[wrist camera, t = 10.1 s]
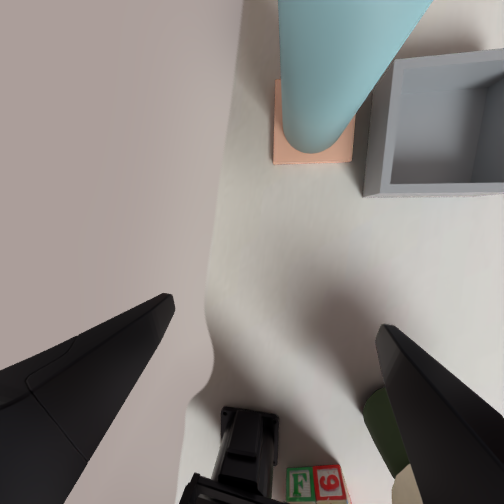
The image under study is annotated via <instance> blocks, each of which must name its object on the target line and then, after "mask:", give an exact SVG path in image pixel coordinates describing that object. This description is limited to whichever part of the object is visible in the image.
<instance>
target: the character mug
mask: <svg viewBox="0 0 504 504" xmlns="http://www.w3.org/2000/svg"><path fill="white" fill-rule="evenodd" d="M363 417H364V422H365V424H366V426H367V428H368V430H369V433H370V435H371V437H372V439H373V441H374V443H375V445H376V447H377V449H378V450H379V452H380V454H381V456H382V458H383V460H384V462H385V464H386V465H387V467H388V469H389V471H390V473H391V475H392V476H393V478H394V479H395V481H394V484H393V487H392V504H423V502H422V499H421V496H420V493H419V490H418V486H417V483H416V480H415V477H414V474H413V471H412V468H411V465H410V462H409V459H408V456H407V453H406V450H405V447H404V444H403V440H402V437H401V434H400V431H399V428H398V425H397V422H396V419H395V416H394V413H393V410H392V407H391V404H390V401H389V398H388V394H387V391H386V388H385V387H384V388H382V389H379V390H377V391H376V392H375V393H374V394H373V395H372V396H371V397H370V398H369V399H368V400H367V401H366V404H365V407H364V410H363Z"/></svg>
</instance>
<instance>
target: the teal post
mask: <svg viewBox="0 0 504 504" xmlns="http://www.w3.org/2000/svg"><path fill="white" fill-rule="evenodd" d="M432 1H433V0H278V11H279V39H280V66H281V94H282V122H283V132H284V135H285V137H286V139H287V141H288V143H289V144H290V145H291V146H292V147H293V148H295V149H296V150H298V151H300V152H303V153H309V154H312V153H318V152H322V151H324V150H326V149H328V148H329V147H331V146H332V145H333V144H334V143H335V142H336V141H337V140H338V138H339V137H340V136H341V134H342V133H343V131H344V130H345V128H346V127H347V125H348V124H349V122H350V121H351V120H352V118H353V117H354V115H355V114H356V112H357V111H358V109H359V108H360V106H361V105H362V103H363V102H364V101H365V99H366V98H367V96H368V95H369V93H370V92H371V90H372V89H373V87H374V86H375V85H376V83H377V82H378V80H379V79H380V77H381V76H382V74H383V73H384V71H385V70H386V68H387V67H388V66H389V64H390V63H391V61H392V60H393V58H394V57H395V55H396V54H397V52H398V51H399V50H400V48H401V47H402V45H403V44H404V42H405V41H406V39H407V38H408V36H409V35H410V33H411V32H412V31H413V29H414V28H415V26H416V25H417V23H418V22H419V20H420V19H421V17H422V16H423V14H424V13H425V12H426V10H427V9H428V7H429V6H430V4H431V3H432Z"/></svg>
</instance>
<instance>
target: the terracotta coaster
mask: <svg viewBox="0 0 504 504" xmlns="http://www.w3.org/2000/svg"><path fill="white" fill-rule="evenodd" d="M355 116H356V114H355V115H354V117H353V118H352V120H351V121H350V122H349V124H348V125H347V127H346V128H345V130H344V131H343V133H342V134H341V136H340V137H339V138H338V140H337V141H336V142H335V143H334V144H333V145H332V146H331V147H329V148H328V149H326V150H324V151H322V152H318V153H312V154H309V153H303V152H300V151H298V150H296V149H295V148H293V147H292V146H291V145H290V144H289V143H288V141H287V139H286V137H285V135H284V132H283V122H282V94H281V79H276V80H275V114H274V156H273V164H274V165H275V164H307V163H339V162H350V161H352V151H353V140H354V128H355Z"/></svg>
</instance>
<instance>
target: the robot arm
mask: <svg viewBox="0 0 504 504" xmlns="http://www.w3.org/2000/svg"><path fill="white" fill-rule="evenodd" d="M174 312H175V304H174V300H173V296H172V295H171V294H167V293H162V294H160V295H158V296H156V297H154V298H152V299H150V300H148V301H146V302H144V303H142V304H140V305H138V306H136V307H134V308H132V309H130V310H128V311H126V312H124V313H122V314H120V315H118V316H115V317H114V318H111V319H110V320H107V321H106V322H104V323H101V324H99V325H97V326H95V327H93V328H91V329H89V330H87V331H85V332H83V333H81V334H79V335H78V336H75V337H73V338H71V339H69V340H67V341H65V342H63V343H60V344H58V345H56V346H54V347H52V348H50V349H48V350H46V351H43V352H41V353H39V354H37V355H35V356H32V357H30V358H28V359H26V360H23V361H21V362H19V363H16V364H14V365H12V366H9V367H7V368H5V369H3V370H0V504H64V502H65V500H66V498H67V497H68V495H69V494H70V492H71V490H72V489H73V487H74V485H75V484H76V482H77V480H78V479H79V477H80V475H81V474H82V472H83V470H84V469H85V467H86V465H87V463H88V461H89V460H90V458H91V457H92V455H93V453H94V452H95V450H96V448H97V447H98V445H99V443H100V442H101V440H102V438H103V437H104V435H105V433H106V432H107V430H108V429H109V427H110V425H111V423H112V422H113V420H114V419H115V417H116V415H117V414H118V412H119V410H120V409H121V407H122V405H123V404H124V402H125V400H126V399H127V397H128V395H129V393H130V392H131V390H132V389H133V387H134V385H135V384H136V382H137V380H138V378H139V377H140V375H141V374H142V372H143V370H144V369H145V367H146V365H147V364H148V362H149V360H150V358H151V357H152V355H153V354H154V352H155V350H156V349H157V347H158V345H159V343H160V342H161V340H162V338H163V336H164V333H165V331H166V329H167V327H168V325H169V323H170V321H171V319H172V317H173V315H174ZM375 343H376V348H377V353H378V358H379V362H380V367H381V372H382V377H383V381H384V385H385V388H386V391H387V394H388V398H389V401H390V404H391V407H392V410H393V413H394V416H395V419H396V422H397V425H398V428H399V431H400V434H401V437H402V440H403V444H404V447H405V450H406V453H407V456H408V459H409V462H410V465H411V468H412V471H413V474H414V477H415V480H416V483H417V486H418V490H419V493H420V496H421V499H422V502H423V504H504V418H503V416H502V415H501V414H500V413H499V412H497V411H496V410H495V409H494V408H493V407H491V406H490V405H489V404H488V403H487V402H485V401H484V400H483V399H482V398H481V397H479V396H478V395H477V394H476V393H475V392H473V391H472V390H471V389H470V388H469V387H467V386H466V385H465V384H464V383H463V382H461V381H460V380H459V379H458V378H457V377H456V376H454V375H453V374H452V373H451V372H450V371H448V370H447V369H446V368H445V367H444V366H442V365H441V364H440V363H439V362H438V361H436V360H435V359H434V358H433V357H432V356H430V355H429V354H428V353H427V352H426V351H424V350H423V349H422V348H421V347H420V346H418V345H417V344H416V343H415V342H414V341H412V340H411V339H410V338H409V337H408V336H406V335H405V334H404V333H403V332H402V331H400V330H399V329H398V328H397V327H396V326H394V325H389V324H382V325H381V326H380V329H379V331H378V334H377V336H376V340H375ZM278 430H279V417H278V416H277V415H275V414H269V413H262V412H256V411H250V410H243V409H237V408H231V407H223V408H222V411H221V439H222V443H221V446H220V450H219V453H218V456H217V460H216V463H215V467H214V470H213V474H212V477H211V479H209V478H206V477H203V476H200V474H198V473H194V475H193V477H192V479H191V482H190V483H188V485H187V486H186V487H185V489H184V492H183V495H182V497H181V500H180V503H179V504H290V503H288V502H285V501H284V502H280V501H277V500H274V499H271V497H272V478H273V466H276V465H277V459H278Z"/></svg>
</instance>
